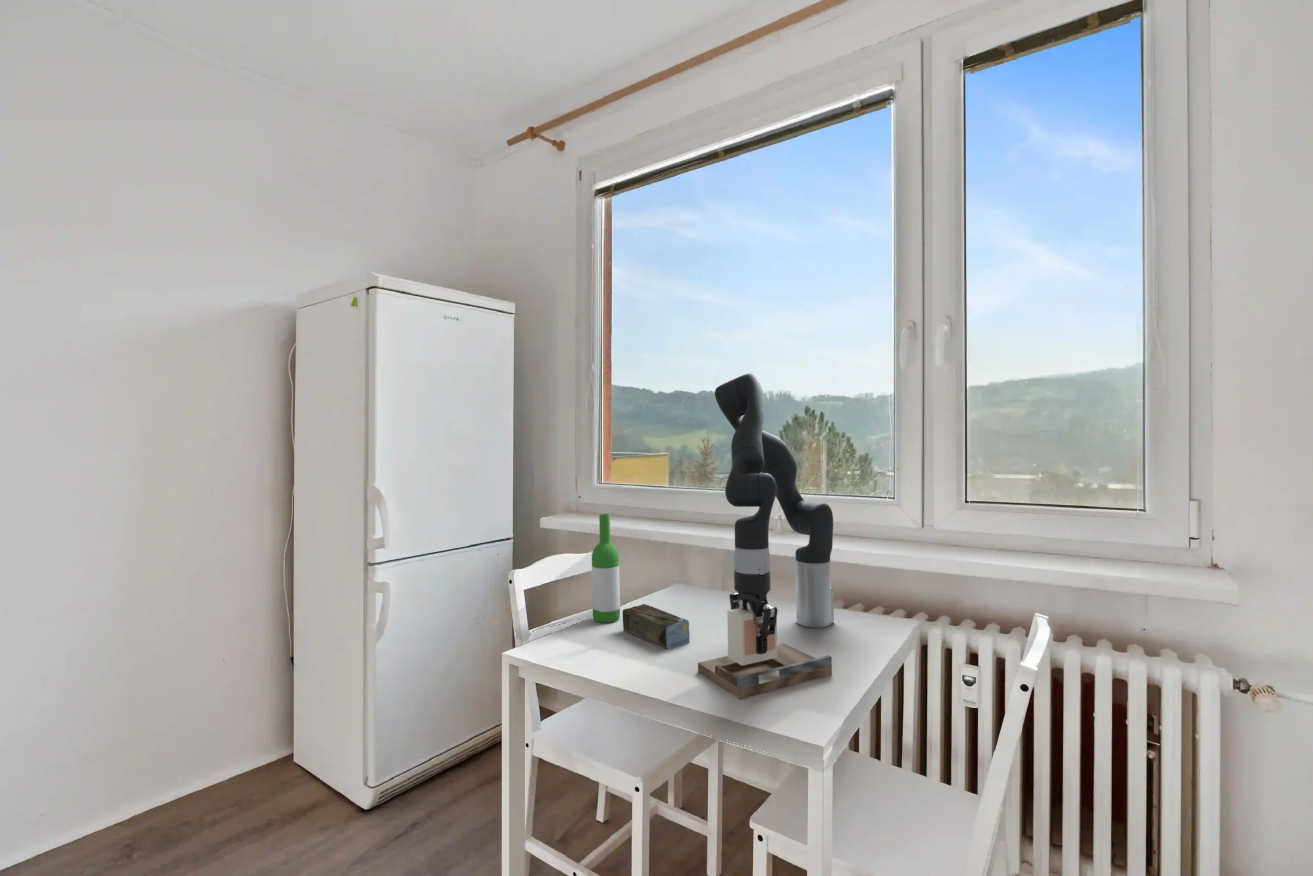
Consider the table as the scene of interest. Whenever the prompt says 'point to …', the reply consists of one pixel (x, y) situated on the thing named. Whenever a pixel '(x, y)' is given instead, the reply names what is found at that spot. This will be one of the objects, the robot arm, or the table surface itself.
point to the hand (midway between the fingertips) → (753, 648)
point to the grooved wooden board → (766, 672)
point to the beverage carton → (656, 626)
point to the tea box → (747, 638)
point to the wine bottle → (605, 576)
